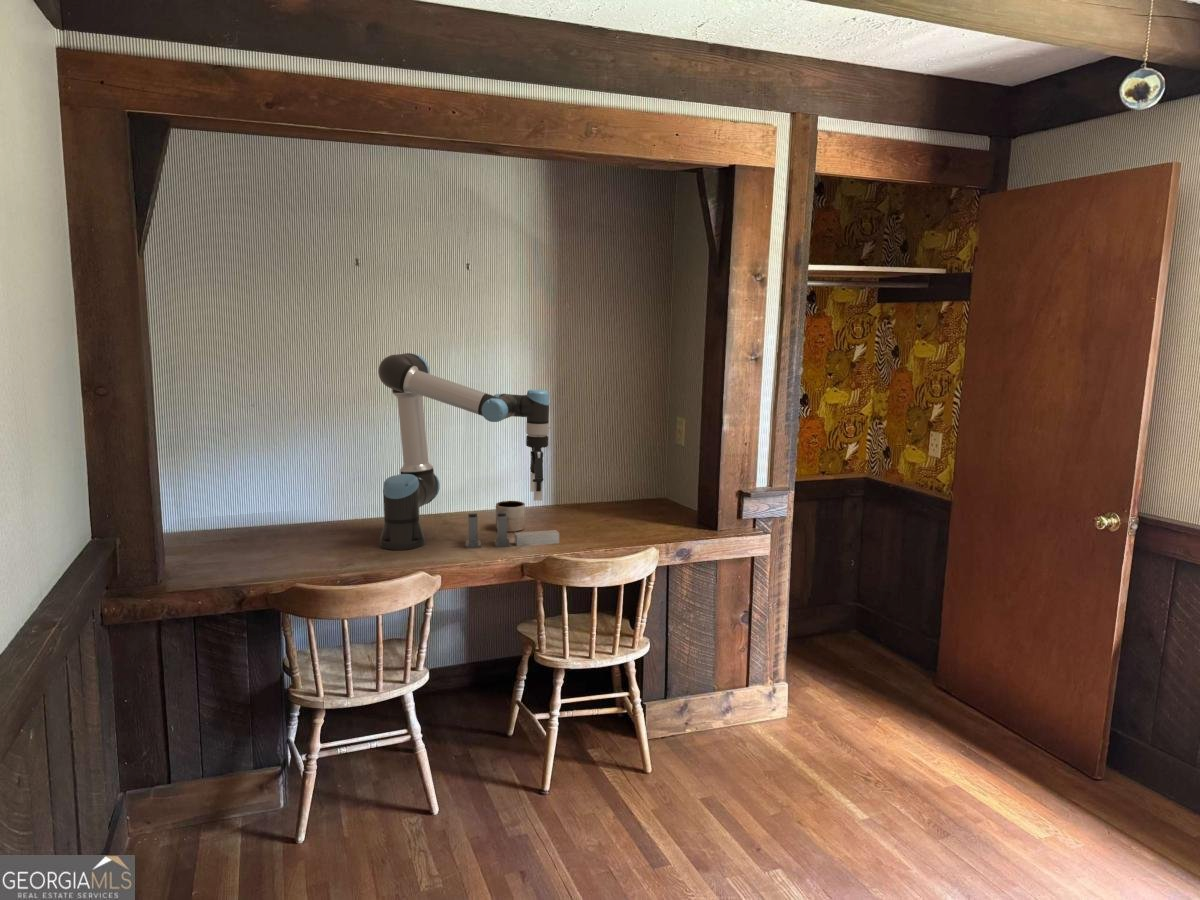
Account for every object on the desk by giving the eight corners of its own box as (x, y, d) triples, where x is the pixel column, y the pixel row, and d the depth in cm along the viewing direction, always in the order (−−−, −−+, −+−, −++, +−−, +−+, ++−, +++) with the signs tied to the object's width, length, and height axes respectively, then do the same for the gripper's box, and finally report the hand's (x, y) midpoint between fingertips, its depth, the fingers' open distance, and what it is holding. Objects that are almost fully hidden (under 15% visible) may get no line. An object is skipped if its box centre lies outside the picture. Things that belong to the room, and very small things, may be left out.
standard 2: (495, 547, 271) (495, 517, 270) (494, 541, 278) (494, 512, 276) (510, 546, 272) (510, 517, 271) (509, 541, 279) (508, 512, 277)
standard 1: (465, 548, 270) (465, 518, 268) (465, 542, 276) (465, 513, 275) (480, 547, 271) (480, 518, 269) (480, 542, 277) (480, 513, 275)
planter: (527, 525, 300) (527, 501, 299) (521, 533, 289) (521, 507, 288) (499, 524, 301) (499, 500, 300) (492, 532, 290) (492, 506, 289)
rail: (516, 547, 273) (516, 535, 273) (514, 543, 277) (514, 532, 276) (559, 543, 278) (559, 532, 277) (556, 540, 281) (556, 530, 281)
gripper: (552, 441, 260) (550, 504, 263) (544, 429, 284) (543, 487, 287) (529, 440, 258) (528, 504, 262) (523, 429, 282) (522, 487, 286)
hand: (536, 495), depth 275 cm, fingers open, 13 cm apart
